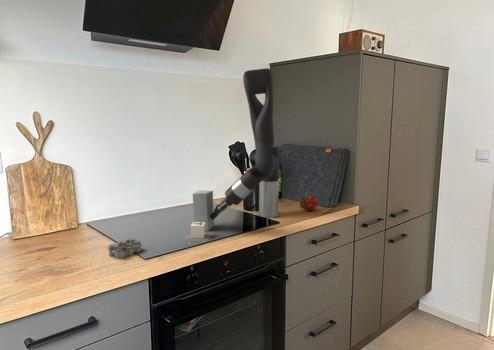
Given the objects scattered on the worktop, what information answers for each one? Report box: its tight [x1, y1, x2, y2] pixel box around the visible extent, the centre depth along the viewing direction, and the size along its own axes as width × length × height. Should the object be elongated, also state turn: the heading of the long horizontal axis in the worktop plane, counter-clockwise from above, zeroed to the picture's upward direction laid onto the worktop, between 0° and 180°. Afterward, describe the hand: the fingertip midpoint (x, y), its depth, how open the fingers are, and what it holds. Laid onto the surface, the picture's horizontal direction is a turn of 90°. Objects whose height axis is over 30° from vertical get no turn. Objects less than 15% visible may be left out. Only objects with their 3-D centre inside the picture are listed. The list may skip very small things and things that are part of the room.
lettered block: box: [190, 221, 206, 238], centre depth 143 cm, size 5×5×5 cm
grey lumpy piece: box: [106, 237, 144, 259], centre depth 125 cm, size 11×8×4 cm
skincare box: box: [192, 190, 215, 232], centre depth 153 cm, size 8×7×16 cm
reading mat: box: [181, 231, 215, 242], centre depth 143 cm, size 10×10×1 cm
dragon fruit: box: [299, 195, 319, 212], centre depth 185 cm, size 8×8×12 cm
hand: (211, 217), depth 152 cm, fingers closed
